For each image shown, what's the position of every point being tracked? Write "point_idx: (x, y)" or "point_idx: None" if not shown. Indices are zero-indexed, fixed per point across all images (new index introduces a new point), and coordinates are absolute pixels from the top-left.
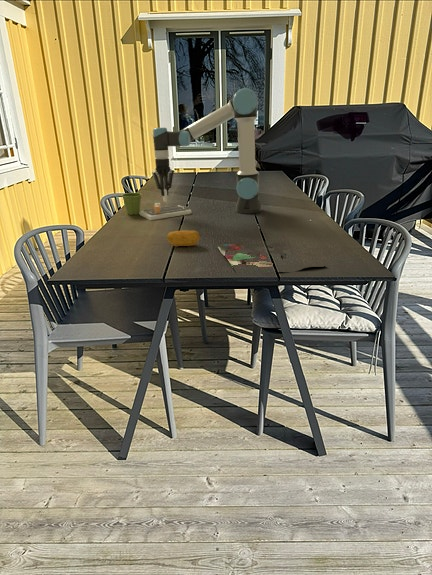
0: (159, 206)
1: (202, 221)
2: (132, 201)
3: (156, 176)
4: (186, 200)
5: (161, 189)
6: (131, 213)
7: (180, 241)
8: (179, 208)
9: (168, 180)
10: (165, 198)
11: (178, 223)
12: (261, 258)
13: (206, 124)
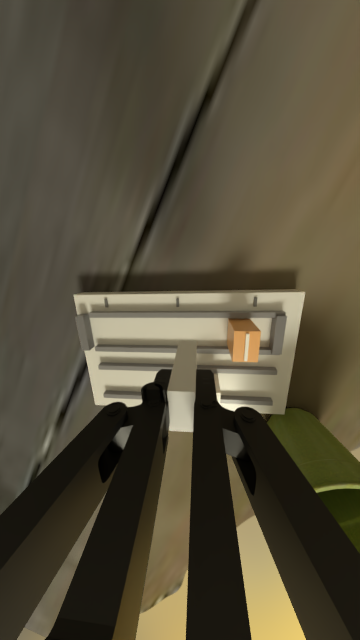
0: (236, 333)
1: (79, 96)
2: (352, 461)
3: None
4: None
5: (223, 411)
6: (314, 417)
7: None
8: (114, 346)
9: (74, 536)
10: (192, 351)
11: (209, 134)
12: None
13: None
